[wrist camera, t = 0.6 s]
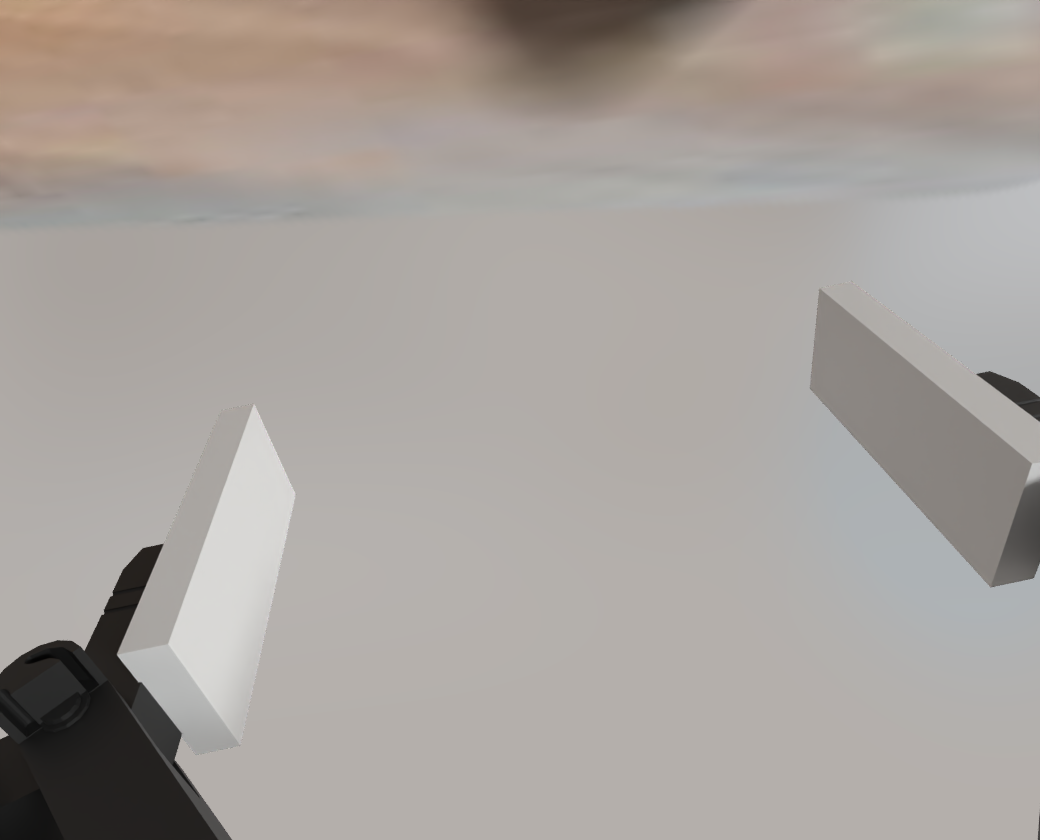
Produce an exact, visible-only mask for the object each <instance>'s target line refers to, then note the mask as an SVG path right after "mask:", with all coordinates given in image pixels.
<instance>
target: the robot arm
mask: <svg viewBox="0 0 1040 840" xmlns="http://www.w3.org/2000/svg"><path fill="white" fill-rule="evenodd" d="M810 389H811V390H812V391H813V393H814V394H815V395H816V396H817V397H818V398H819V399H820V400H821V401H822V402H823V404H824V405H825V406H826V407H827V408H828V409H829V410H830V411H831V412H832V413H833V415H834V416H835V417H836V418H837V419H838V420H839V421H840V422H841V423H842V425H843V426H844V427H845V428H846V429H847V430H848V431H849V432H850V433H851V434H852V436H853V437H854V438H855V439H856V440H857V441H858V442H859V443H860V444H861V445H862V446H863V448H864V449H865V450H866V451H867V452H868V453H869V454H870V455H871V456H872V457H873V459H874V460H875V461H876V462H877V463H878V464H879V465H880V466H881V467H882V468H883V469H884V471H885V472H886V473H887V474H888V475H889V476H890V477H891V478H892V479H893V481H894V482H895V483H896V484H897V485H898V486H899V487H900V488H901V489H902V490H903V492H904V493H906V495H907V496H908V497H909V498H910V499H911V500H912V501H913V502H914V504H915V505H916V506H917V507H918V508H919V509H920V510H921V511H922V512H923V513H924V515H925V516H926V517H927V518H928V519H929V520H930V521H931V522H932V523H933V524H934V526H935V527H936V528H937V529H938V530H939V531H940V532H941V533H942V534H943V535H944V536H945V538H946V539H947V540H948V541H949V542H950V543H951V544H952V545H953V546H954V548H955V549H956V550H957V551H958V552H959V553H960V554H961V555H962V556H963V557H964V559H965V560H966V561H967V562H968V563H969V564H970V565H971V566H972V567H973V568H974V570H975V571H976V572H977V573H978V574H979V575H980V576H981V577H982V578H983V579H984V581H985V582H986V583H987V584H988V585H989V586H990V587H995V586H999V585H1004V584H1009V583H1014V582H1018V581H1023V580H1028V579H1032V578H1034V576H1035V574H1036V571H1037V568H1038V566H1039V563H1040V397H1038V396H1037V395H1036V394H1035V393H1033V392H1032V391H1030V390H1029V389H1027V388H1026V387H1025V386H1023V385H1021V384H1020V383H1019V382H1016V381H1013V380H1011V379H1008V378H1006V377H1003V376H1001V375H998V374H996V373H993V372H990V371H989V372H985V373H979V374H975V373H974V372H972V371H971V370H970V369H968V368H967V367H966V366H964V365H963V364H962V363H960V362H959V361H958V360H956V359H955V358H953V357H952V356H951V355H950V354H948V353H947V352H946V351H944V350H943V349H942V348H940V347H939V346H938V345H936V344H935V343H934V342H932V341H931V340H930V339H928V338H927V337H925V336H924V335H923V334H921V333H920V332H919V331H917V330H916V329H915V328H913V327H912V326H911V325H909V324H908V323H907V322H905V321H904V320H903V319H901V318H900V317H899V316H897V315H896V314H895V313H893V312H892V311H891V310H889V309H888V308H887V307H885V306H884V305H883V304H881V303H880V302H879V301H877V300H876V299H875V298H873V297H872V296H871V295H869V294H868V293H867V292H865V291H864V290H863V289H861V288H860V287H859V286H857V285H856V284H854V283H853V282H847V283H842V284H837V285H832V286H828V287H822V288H820V289H819V298H818V308H817V319H816V329H815V340H814V352H813V361H812V372H811V383H810ZM294 500H295V492H294V490H293V488H292V486H291V484H290V481H289V479H288V477H287V475H286V473H285V470H284V469H283V466H282V464H281V462H280V459H279V457H278V455H277V453H276V451H275V449H274V446H273V445H272V442H271V440H270V438H269V435H268V433H267V431H266V429H265V427H264V425H263V422H262V420H261V418H260V416H259V414H258V411H257V409H256V407H255V405H254V404H250V405H245V406H240V407H236V408H231V409H226V410H221V411H220V413H219V415H218V418H217V420H216V423H215V425H214V427H213V430H212V432H211V435H210V437H209V439H208V441H207V444H206V446H205V448H204V451H203V453H202V455H201V458H200V460H199V463H198V465H197V467H196V470H195V472H194V474H193V477H192V479H191V481H190V484H189V486H188V488H187V491H186V493H185V496H184V498H183V500H182V503H181V505H180V507H179V510H178V512H177V514H176V517H175V519H174V521H173V524H172V526H171V528H170V531H169V533H168V535H167V538H166V540H165V542H164V544H161V545H156V546H151V547H146V548H143V549H142V550H141V551H140V552H139V553H138V554H137V555H136V556H135V557H134V558H133V560H132V561H131V562H130V563H129V564H128V565H127V566H126V567H125V568H124V569H123V571H122V573H121V575H120V577H119V580H118V582H117V584H116V586H115V588H114V590H113V596H111V597H110V599H109V601H108V603H107V605H106V607H105V609H104V615H101V617H100V620H99V622H98V624H97V626H96V628H95V630H94V632H93V634H92V636H91V639H90V641H89V643H88V645H87V647H86V649H85V651H84V650H83V649H82V648H81V647H80V646H79V645H77V644H76V643H74V642H73V641H60V640H57V641H54V642H51V643H47V644H44V645H40V646H38V647H36V648H34V649H32V650H31V651H29V652H27V653H25V654H23V655H21V656H20V657H19V658H18V659H16V660H15V661H14V662H13V663H11V664H10V665H9V666H8V667H6V668H5V669H4V670H3V671H2V672H1V674H0V727H1V728H2V729H3V730H4V731H5V732H6V733H7V734H8V735H9V736H6V737H4V738H2V739H0V840H232V839H231V838H230V836H229V835H228V833H227V832H226V831H225V829H224V828H223V826H222V825H221V823H220V822H219V821H218V819H217V818H216V816H215V815H214V814H213V812H212V811H211V809H210V808H209V807H208V805H207V804H206V802H205V801H204V800H203V798H202V797H201V795H200V794H199V792H198V791H197V790H196V788H195V787H194V785H193V784H192V782H191V781H190V780H189V779H188V777H187V775H186V774H185V773H184V771H183V770H182V769H181V767H180V766H179V765H178V764H177V762H176V761H175V760H174V759H175V756H176V752H177V749H178V745H179V742H180V739H181V737H182V738H183V739H184V741H185V742H186V743H187V744H188V746H189V747H190V748H191V749H192V751H193V752H194V753H195V754H196V755H199V754H204V753H208V752H213V751H217V750H223V749H227V748H232V747H236V746H240V745H241V741H242V736H243V732H244V727H245V723H246V718H247V714H248V709H249V704H250V700H251V696H252V691H253V687H254V682H255V678H256V673H257V668H258V664H259V659H260V654H261V650H262V645H263V641H264V637H265V632H266V627H267V623H268V618H269V614H270V609H271V605H272V600H273V596H274V591H275V586H276V582H277V577H278V573H279V568H280V564H281V559H282V555H283V550H284V546H285V541H286V536H287V532H288V527H289V522H290V518H291V514H292V509H293V505H294ZM1038 840H1040V816H1039V831H1038Z"/></svg>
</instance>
